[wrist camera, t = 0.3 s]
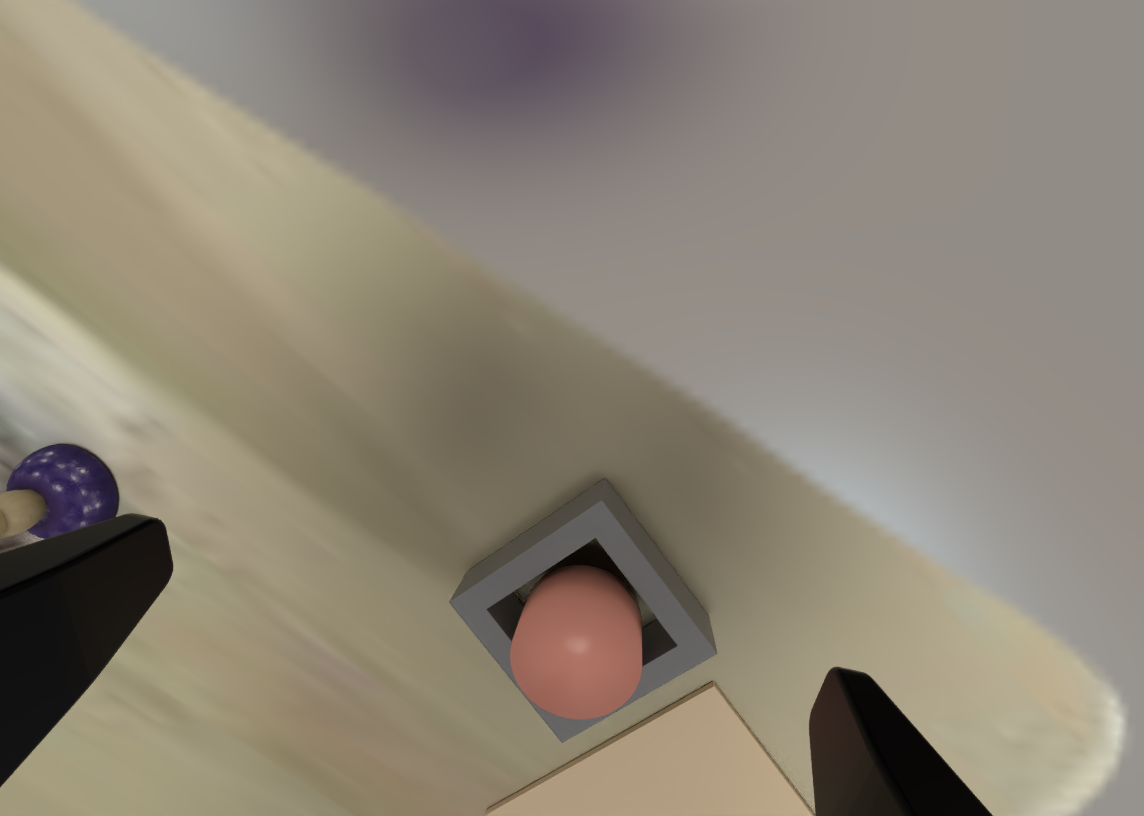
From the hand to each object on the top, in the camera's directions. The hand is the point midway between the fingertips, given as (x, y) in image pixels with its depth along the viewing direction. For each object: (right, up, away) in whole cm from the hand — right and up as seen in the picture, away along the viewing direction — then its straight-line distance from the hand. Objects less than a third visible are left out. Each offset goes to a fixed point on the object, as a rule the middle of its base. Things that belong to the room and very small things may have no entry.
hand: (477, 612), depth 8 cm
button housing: (+2, -5, +16) cm, 17 cm away
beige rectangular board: (+5, -16, +18) cm, 25 cm away
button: (+2, -5, +14) cm, 15 cm away
